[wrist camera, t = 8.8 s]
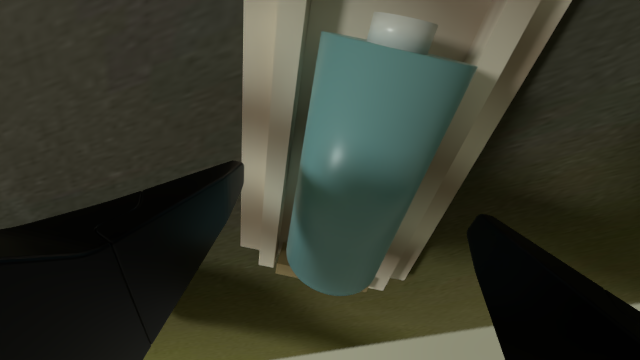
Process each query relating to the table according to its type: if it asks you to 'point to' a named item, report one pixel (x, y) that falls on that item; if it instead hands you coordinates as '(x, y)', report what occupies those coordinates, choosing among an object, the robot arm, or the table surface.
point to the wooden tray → (296, 86)
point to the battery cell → (368, 147)
